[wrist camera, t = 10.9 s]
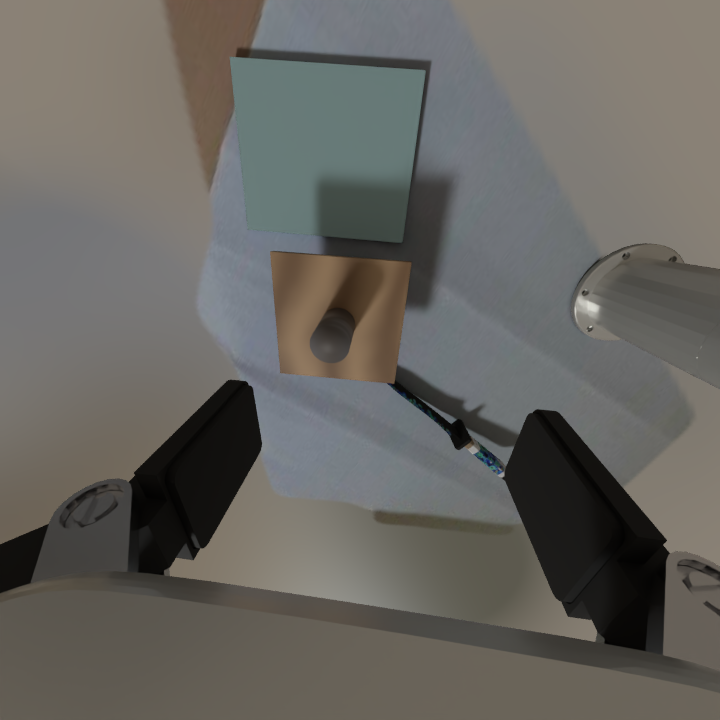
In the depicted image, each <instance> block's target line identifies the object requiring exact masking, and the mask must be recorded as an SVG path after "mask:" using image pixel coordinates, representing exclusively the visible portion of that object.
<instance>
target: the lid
mask: <svg viewBox="0 0 720 720" xmlns="http://www.w3.org/2000/svg"><path fill="white" fill-rule="evenodd" d="M270 256H271V267H272V279H273V291H274V303H275V314H276V326H277V338H278V350H279V361H280V373H285V374H296V375H306V376H317V377H328V378H339V379H349V380H360V381H371V382H382V383H392V384H394V382H395V375H396V368H397V361H398V354H399V347H400V340H401V333H402V326H403V319H404V312H405V305H406V298H407V291H408V284H409V277H410V270H411V263H412V262H411V261H398V260H385V259H372V258H359V257H346V256H333V255H320V254H306V253H293V252H280V251H271V252H270Z"/></svg>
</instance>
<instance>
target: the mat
mask: <svg viewBox="0 0 720 720" xmlns="http://www.w3.org/2000/svg"><path fill="white" fill-rule="evenodd" d="M230 64H231V74H232V83H233V93H234V102H235V112H236V121H237V131H238V140H239V150H240V159H241V169H242V178H243V188H244V197H245V207H246V216H247V226H248V230H259V231H270V232H282V233H293V234H304V235H316V236H327V237H339V238H350V239H362V240H373V241H384V242H396V243H402V242H403V235H404V228H405V220H406V213H407V205H408V198H409V191H410V183H411V176H412V169H413V161H414V154H415V147H416V139H417V132H418V124H419V117H420V110H421V102H422V95H423V88H424V80H425V73H426V70H416V69H401V68H386V67H372V66H357V65H342V64H328V63H313V62H298V61H284V60H269V59H254V58H239V57H230Z"/></svg>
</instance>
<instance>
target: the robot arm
mask: <svg viewBox="0 0 720 720" xmlns="http://www.w3.org/2000/svg"><path fill="white" fill-rule="evenodd" d="M571 314H572V318H573V321H574V323H575V325H576V326H577V327H578V329H579V330H581V331H582V332H583V333H585V334H586V335H588V336H590V337H592V338H595V339H598V340H605V341H614V340H621V339H623V340H625V341H627V342H629V343H631V344H633V345H635V346H636V347H638V348H640V349H642V350H644V351H646V352H648V353H650V354H652V355H654V356H656V357H658V358H660V359H662V360H664V361H666V362H668V363H669V364H671V365H673V366H675V367H677V368H679V369H681V370H683V371H685V372H687V373H689V374H691V375H693V376H695V377H697V378H699V379H701V380H703V381H705V382H707V383H709V384H710V385H712V386H714V387H716V388H718V389H720V269H716V268H709V267H702V266H697V265H690V264H685V263H684V261H683V260H682V258H681V256H680V255H679V254H678V253H677V252H675V251H674V250H673V249H671V248H668V247H666V246H662V245H657V244H636V245H632V246H628V247H624V248H622V249H619V250H617V251H615V252H612V253H611V254H609V255H607V256H606V257H604V258H603V259H601V260H600V261H599V262H597V263H596V264H595V265H594V266H593V267H592V268H591V269H590V270H589V271H588V272H587V273H586V274H585V275H584V277H583V278H582V279H581V281H580V282H579V284H578V286H577V288H576V290H575V292H574V295H573V298H572V302H571ZM261 447H262V441H261V434H260V428H259V422H258V416H257V410H256V404H255V398H254V392H253V388H252V386H249V385H248V383H247V382H246V381H239V380H228V381H227V382H226V383H225V384H224V385H223V386H222V387H221V388H220V389H219V390H217V391H216V393H214V394H213V395H212V396H211V397H210V398H209V399H208V400H207V401H206V402H205V403H204V404H203V405H202V406H201V407H200V408H199V409H198V410H197V411H196V412H195V413H194V414H193V415H192V416H191V417H190V418H189V419H188V420H187V421H186V422H185V423H184V424H183V425H182V426H181V427H180V428H179V429H178V430H177V431H176V432H175V433H174V434H173V435H172V436H171V437H170V438H169V439H168V440H167V441H166V442H165V443H164V444H163V445H162V446H161V447H160V448H158V449H157V451H155V452H154V453H153V454H152V455H151V456H150V457H149V458H148V459H147V460H146V461H145V462H144V463H143V464H142V465H141V466H140V467H139V468H138V469H137V470H136V471H135V472H134V474H135V476H134V477H133V478H132V479H131V480H130V481H129V482H127V481H126V480H123V479H107V480H104V481H100V482H96V483H94V484H92V485H90V486H87V487H85V488H84V489H82V490H80V491H78V492H76V493H75V494H73V495H72V496H71V497H69V498H68V499H67V500H66V501H64V502H63V503H62V504H61V505H60V506H59V508H58V509H57V510H56V511H55V512H54V514H53V516H52V518H51V520H50V522H49V524H48V525H45V526H43V527H40V528H38V529H35V530H33V531H31V532H29V533H26V534H24V535H21V536H19V537H17V538H14V539H12V540H9V541H7V542H5V543H3V544H0V720H720V566H718V565H716V564H715V563H713V562H711V561H709V560H707V559H704V558H702V557H700V556H698V555H695V554H691V553H688V552H678V551H676V552H674V553H671V554H670V553H669V552H668V551H667V549H666V548H665V547H664V546H663V544H664V543H665V542H666V541H667V540H666V539H665V538H664V536H663V535H662V534H661V533H660V532H659V530H658V529H657V528H656V527H655V526H654V524H653V523H652V522H651V521H650V520H649V518H648V517H647V516H646V515H645V514H644V513H643V512H642V510H641V509H640V508H639V507H638V505H637V504H636V503H635V502H634V501H633V500H632V498H631V497H630V496H629V495H628V494H627V492H626V491H625V490H624V489H623V488H622V487H621V485H620V484H619V483H618V482H617V481H616V479H615V478H614V477H613V476H612V475H611V474H610V472H609V471H608V470H607V469H606V468H605V466H604V465H603V464H602V463H601V462H600V461H599V459H598V458H597V457H596V456H595V455H594V453H593V452H592V451H591V450H590V449H589V448H588V446H587V445H586V444H585V443H584V442H583V440H582V439H581V438H580V437H579V436H578V435H577V433H576V432H575V431H574V430H573V429H572V427H571V426H570V425H569V424H568V423H567V422H566V420H565V419H564V418H563V417H562V416H561V414H560V413H558V412H556V411H549V410H539V409H537V410H535V411H534V412H533V413H530V414H528V416H527V418H526V420H525V422H524V425H523V427H522V430H521V432H520V435H519V437H518V439H517V442H516V444H515V447H514V449H513V452H512V454H511V457H510V459H509V461H508V464H507V466H506V469H505V473H504V477H505V481H506V484H507V486H508V489H509V491H510V493H511V496H512V498H513V501H514V503H515V505H516V508H517V510H518V512H519V515H520V517H521V519H522V522H523V524H524V526H525V529H526V531H527V533H528V536H529V538H530V541H531V543H532V545H533V548H534V550H535V553H536V555H537V557H538V560H539V562H540V564H541V567H542V569H543V571H544V574H545V576H546V578H547V581H548V583H549V586H550V588H551V590H552V592H553V594H554V596H555V597H556V599H558V600H559V601H561V602H562V604H563V606H564V608H565V611H566V613H567V615H568V617H575V618H581V619H588V620H591V619H592V621H593V623H594V625H595V627H596V629H597V637H596V642H591V641H586V640H581V639H575V638H569V637H564V636H558V635H551V634H545V633H539V632H533V631H526V630H521V629H514V628H508V627H502V626H495V625H489V624H483V623H477V622H471V621H465V620H458V619H452V618H446V617H440V616H433V615H426V614H420V613H414V612H408V611H401V610H394V609H388V608H382V607H376V606H369V605H363V604H356V603H350V602H343V601H337V600H330V599H324V598H317V597H311V596H304V595H297V594H291V593H284V592H278V591H271V590H264V589H258V588H251V587H244V586H237V585H231V584H224V583H217V582H211V581H202V580H195V579H187V578H179V577H172V576H170V571H169V568H170V566H171V565H172V563H173V562H174V560H175V558H182V559H190V560H194V558H195V557H196V555H197V553H198V551H199V550H200V548H204V547H206V546H207V544H208V543H209V541H210V539H211V538H212V536H213V534H214V532H215V531H216V529H217V527H218V525H219V524H220V522H221V520H222V518H223V517H224V515H225V513H226V511H227V510H228V508H229V506H230V504H231V502H232V501H233V499H234V497H235V495H236V494H237V492H238V490H239V488H240V486H241V485H242V483H243V481H244V479H245V478H246V476H247V474H248V472H249V471H250V469H251V467H252V465H253V464H254V462H255V460H256V459H257V457H258V455H259V453H260V451H261Z"/></svg>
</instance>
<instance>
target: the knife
mask: <svg viewBox="0 0 720 720" xmlns="http://www.w3.org/2000/svg"><path fill="white" fill-rule="evenodd" d="M387 384H388V385H390V386H391V387H392V388H393V389H394V390H395V391H396V392H398V393H399V394H400V395H401V396H403V397H404V398H405V399H407V400H408V401H409V402H411V403H412V404H413V405H415V406H416V407H417V408H419V409H420V410H421V411H422V412H424V413H425V414H426V415H428V416H429V417H430V418H431V419H433V420H434V421H435V422H436V423H437V424H438V425H440V426H441V427H442V428H443V429H444V430H445V431H446V432H447V433H448V434H449V436H450V438H451V440H452V442H453V445H454V447H455V449H457V450H460V449H462V448H463V447H466V448H467V449H468V450H469V451H470V452H471V453H473V454H474V455H475V456H476V457H477V458H478V459H480V460H481V461H482V462H483V463H484V464H485V465H487V466H488V467H489V468H490V469H491V470H492V471H494V472H495V473H496V474H497V475H498V476H499V477H501V478H502V479H503V480H505V477H504V473H505V469H506V466H505V465H504V464H503V462H502V461H500V460H499V459H498V458H497V457H496V456H494V455H493V454H492V453H491V452H489V451H488V450H487V449H486V448H485V447H483V446H482V445H481V444H480V443H479V442H477V441H476V440H475V439H474V438H472V437H471V436H470V435H469V433H468V431H467V430H466V428H465V426H464V424H463V422H462V421H461V420H459V419H458V420H457V421H456V422H454V423H453V424H452V425H451V424H450V423H449V422H448V421H446V420H445V419H444V418H443V417H442V416H440V415H439V414H438V413H437V412H435V411H434V410H433V409H432V408H430V407H429V406H428V405H426V404H425V403H424V402H423V401H421V400H420V399H419V398H417V397H416V396H415V395H413V394H412V393H411V392H409V391H408V390H407V389H405V388H404V387H403V386H401V385H400V384H399V383H397V382H396V381H395V382H394V384H392V383H387Z"/></svg>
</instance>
